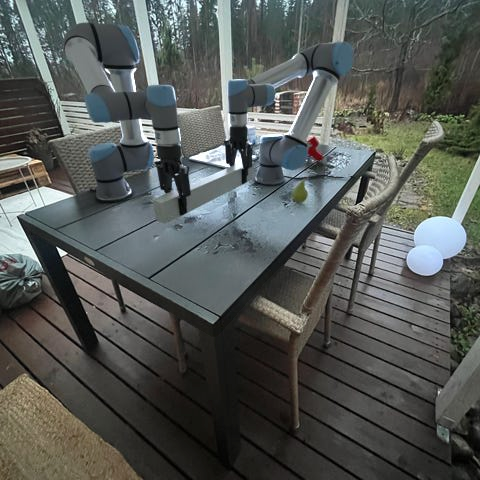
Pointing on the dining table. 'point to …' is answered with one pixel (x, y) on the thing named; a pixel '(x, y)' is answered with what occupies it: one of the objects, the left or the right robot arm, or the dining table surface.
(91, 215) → the dining table surface
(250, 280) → the dining table surface
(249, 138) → the ink box
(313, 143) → the toy gun
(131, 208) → the dining table surface
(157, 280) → the dining table surface
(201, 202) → the bar
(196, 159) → the relief map
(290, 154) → the right robot arm
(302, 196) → the fruit
